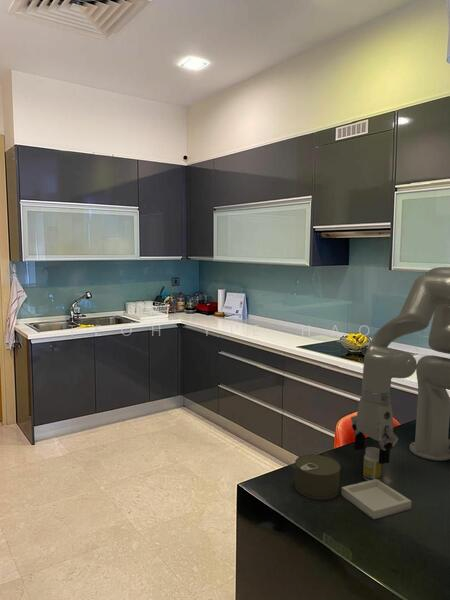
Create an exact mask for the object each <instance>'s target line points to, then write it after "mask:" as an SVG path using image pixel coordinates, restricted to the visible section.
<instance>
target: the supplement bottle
mask: <svg viewBox="0 0 450 600" xmlns="http://www.w3.org/2000/svg"><path fill="white" fill-rule="evenodd" d="M380 449H381V448H378V447H374V446H366V448H365V454H364V456H363V467H362V468H363V469H362V470H363V471H362V472H363V474H362V477H363V479H364V480H365V481H370V480H374V479H378V480H379V481H381V477H382V464H379V450H380Z"/></svg>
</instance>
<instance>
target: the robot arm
mask: <svg viewBox="0 0 450 600" xmlns="http://www.w3.org/2000/svg"><path fill="white" fill-rule="evenodd" d="M431 319H432V322H431ZM430 322H431V325H430V331H429V333H428V334H429V335H428V339H427V340H428V342H427V343H428V347H429V348H430V349H431V350H433V351H434V352H437V353H443V354H447V355H450V267H449V266H448V267H447V266H443V267H442V266H440V267H433V268H431V269H429V270H428V271H427V274H423V275H420V276H418V277H417V278H416V279H415V280H414V282H413V284H412V286H411V287H410V291H409V293H408V295H407V297H406V299H405V301H404V303H403V306H402V307H401V310H400V312H399V313H398V315H397V316H395V317H393V318H392V319H390V320H389V321H388V322H386V323H385V324H383V326H382V327H379V329H378V330H377V331H376V332H375V333H374V334H373V337H372V339H371V341H370V343H369V345H368V347H367V349H366V353H365V354H364V357H363V366H362V367H363V369H362V380H361V381H362V382H361V383H362V384H361V397H360V399H359V402H358V407H357V411H356V415H354V416H351V417H350V420H351V424H352V425H351V427H352V430H353V435H354V445H353V446H354V450H356V451H357V450H358V451H359V450H363V449H365V444H366V443H365V440H366V436H367V437H369V438H371V439H373V440H375V441H378V444H379V446H380V448H379V449H380V450H379V464H381V465H385V464H388V463H390V456H391V455H390V454H391V450H393V448H395V447H396V445H397V443H398V441H399V438H398V436H397V435H396V434H395V432H394V413H393V406H392V404H391V402H392V398H391V387H392V379H407V378H410V377H412V375H414V374H415V373H416V379H417V405H416V420H415V421H416V422H415V438H414V441H413V442H411V443H410V444H409V450H410V453H412V454H414V455H415V456H417V457H420V458H423V459H426V460H431V461H438V462H439V461H441V462H442V461H448V460H450V438H449V433H450V432H449V428H450V396H449V393H448V391H450V357H443V356H439V355H424V356H422V357H421V358H420V359H418V361H417V360H416V357H414V355H412V354H411V353H410V352H406V351H403V350H402V351H401V350H397V349H395V348H394V349H393V348H388V347H389V346H390V344H392V342H394V341H395V340H397V339H398V338H401V337H403V336H405V335H410V334H413V333H418V332H421V331H424V330H426V329H427V328H428V327H429V324H430Z"/></svg>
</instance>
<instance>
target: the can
mask: <svg viewBox="0 0 450 600" xmlns="http://www.w3.org/2000/svg"><path fill="white" fill-rule="evenodd" d="M294 465H295V478H294V479H295V480H294V482H295V483H294V486H295V487H294V488H295V490H296V491H297V492H298V493H299V494H301V495H302V496H303V497H307V498H310V499H312V500H322V501H324V500H330V499H331V500H332V499H333V498H335V497H336V496H338V495H339V491H340V475H341V469H342V468H341V463H339V461H337V460H336V459H334V458H332V457H330V456H327V455H324V454H323V455H321V454H315V453H313V454H303V455H301V456H298V457H297V458H296V459H295V461H294Z"/></svg>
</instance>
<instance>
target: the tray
mask: <svg viewBox="0 0 450 600" xmlns="http://www.w3.org/2000/svg"><path fill="white" fill-rule="evenodd" d="M340 492H341V493H340V495H341V496H342V497H343V498H345V500H347V501H349V502H350V503H351V504H352V505H354V506H355V507H356V508H358V509H359V510H360V511H361V512H362V513H364V514H366V515H367V516H368V517H370V518H371V519H372V520H377V519H378V520H379V519H380V518H383V517H388V516H392V515H394V514H398V513H402V512H405V511H408V510H411V509H412V500H411V499H410V498H407V497H406V496H405V495H403V494H402V493H400V492H398V491H397V490H395V489H394V488H392V487H391V486H389V485H387V484H386V483H384V482H382V481H381V480H380V481H379V480H378V479H374V480H370V481H368V480H365V481H361V482H358V483H354V484H349V485H345V486H342V487H341V491H340Z"/></svg>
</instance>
